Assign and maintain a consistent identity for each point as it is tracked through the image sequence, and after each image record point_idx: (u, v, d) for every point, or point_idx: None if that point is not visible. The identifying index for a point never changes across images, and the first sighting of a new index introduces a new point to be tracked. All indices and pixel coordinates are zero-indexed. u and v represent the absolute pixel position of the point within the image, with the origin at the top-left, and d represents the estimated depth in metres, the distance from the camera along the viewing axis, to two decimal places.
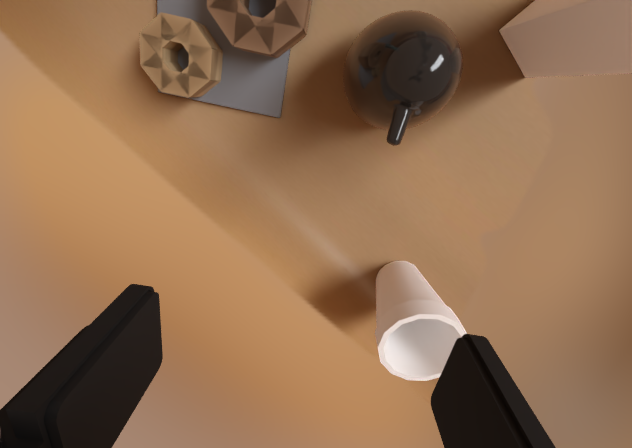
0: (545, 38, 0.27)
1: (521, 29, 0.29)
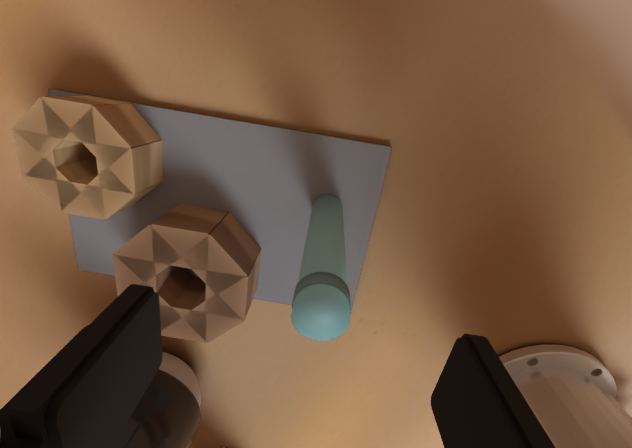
0: None
1: None
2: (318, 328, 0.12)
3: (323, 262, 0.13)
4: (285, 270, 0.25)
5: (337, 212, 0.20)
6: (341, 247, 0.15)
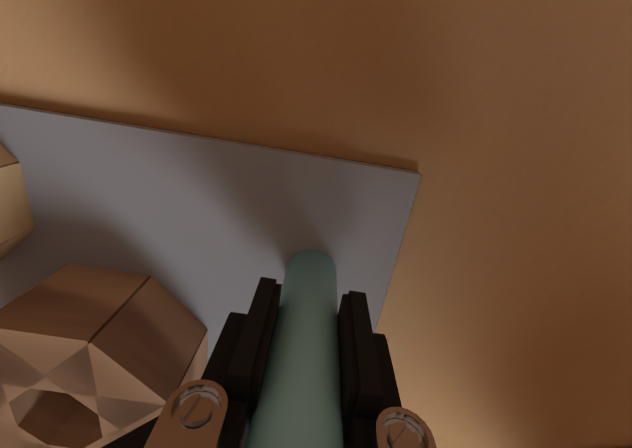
0: None
1: None
2: None
3: None
4: None
5: (326, 298, 0.11)
6: (333, 438, 0.07)
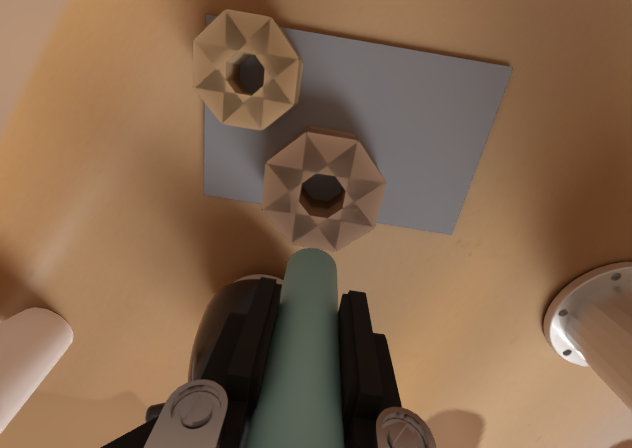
0: None
1: None
2: None
3: None
4: (397, 191, 0.27)
5: (327, 297, 0.11)
6: (333, 437, 0.07)
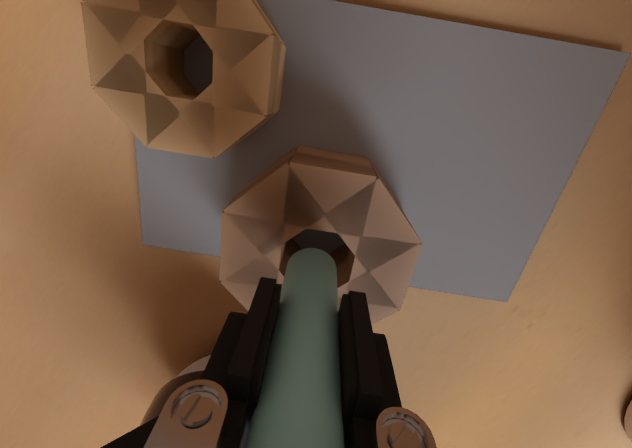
0: None
1: None
2: None
3: None
4: (431, 242, 0.18)
5: (326, 297, 0.11)
6: (333, 436, 0.07)
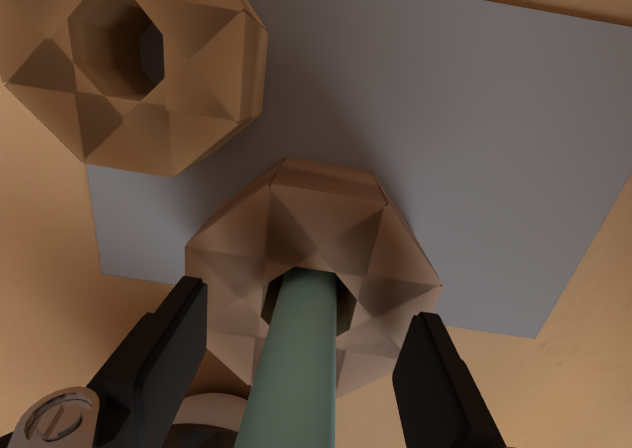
0: None
1: None
2: None
3: None
4: (447, 271, 0.15)
5: (326, 273, 0.12)
6: (325, 376, 0.08)
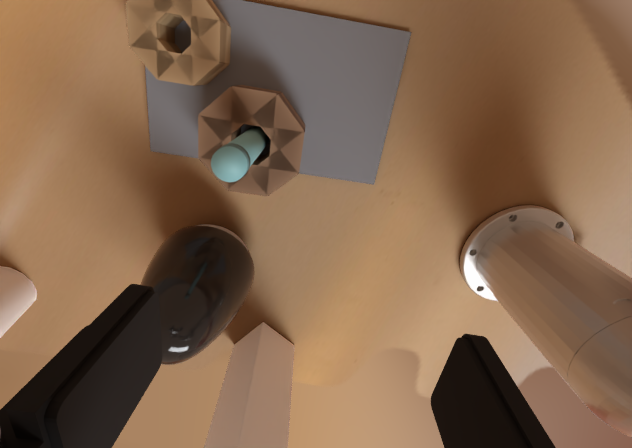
0: (243, 368, 0.36)
1: (255, 345, 0.38)
2: (227, 173, 0.20)
3: (234, 141, 0.21)
4: (324, 145, 0.31)
5: (260, 132, 0.28)
6: (253, 142, 0.24)
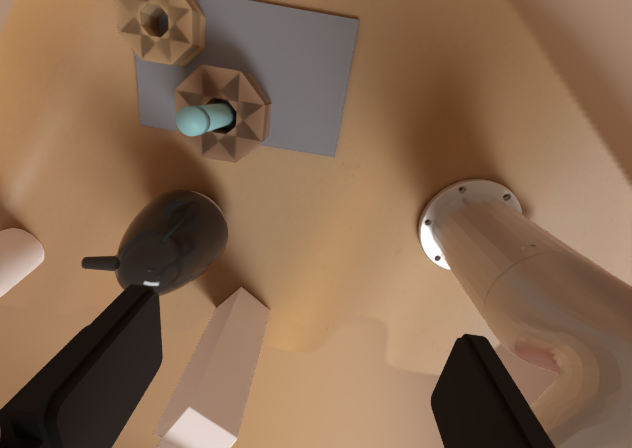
0: (219, 322, 0.41)
1: (231, 304, 0.42)
2: (189, 128, 0.25)
3: None
4: (288, 121, 0.36)
5: (229, 106, 0.32)
6: (217, 109, 0.28)
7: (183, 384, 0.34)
